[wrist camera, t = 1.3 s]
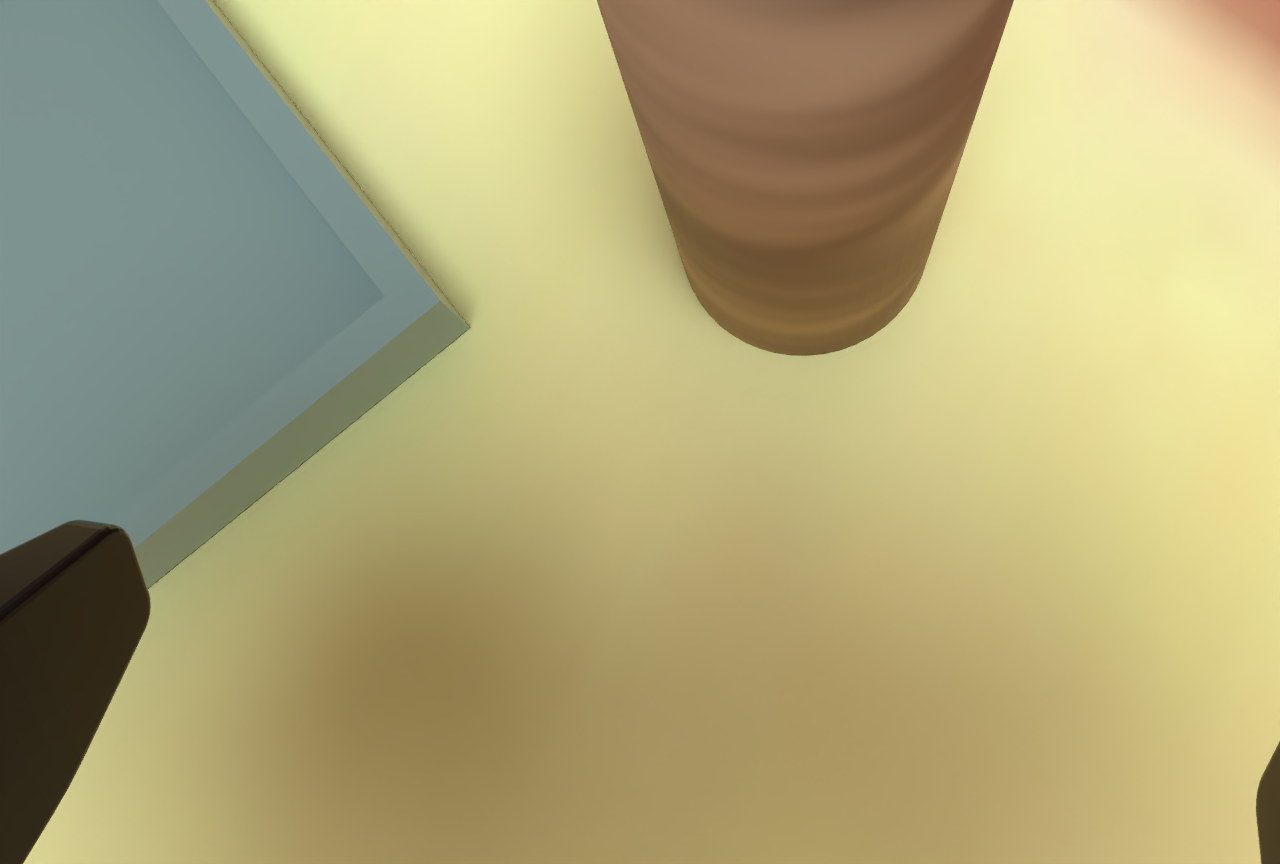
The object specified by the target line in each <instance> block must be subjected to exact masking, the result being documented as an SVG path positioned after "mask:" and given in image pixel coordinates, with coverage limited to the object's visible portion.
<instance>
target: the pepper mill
mask: <svg viewBox="0 0 1280 864" xmlns="http://www.w3.org/2000/svg"><path fill="white" fill-rule="evenodd" d="M1013 1H1014V0H597V2H598V5H599V8H600V11H601V14H602V17H603V21H604V24H605V27H606V30H607V33H608V36H609V39H610V42H611V45H612V48H613V51H614V54H615V57H616V60H617V63H618V66H619V69H620V72H621V76H622V79H623V82H624V85H625V88H626V91H627V94H628V97H629V100H630V103H631V106H632V109H633V112H634V115H635V118H636V121H637V124H638V127H639V130H640V134H641V137H642V140H643V143H644V146H645V149H646V152H647V155H648V158H649V161H650V164H651V167H652V170H653V173H654V176H655V179H656V182H657V185H658V189H659V192H660V195H661V198H662V201H663V204H664V207H665V210H666V213H667V216H668V219H669V222H670V225H671V228H672V231H673V234H674V237H675V240H676V243H677V247H678V250H679V253H680V256H681V259H682V262H683V265H684V268H685V271H686V274H687V277H688V279H689V282H690V284H691V287H692V289H693V291H694V293H695V294H696V296H697V298H698V300H699V302H700V303H701V304H702V306H703V307H704V308H705V310H706V311H707V312H708V314H709V315H710V316H711V317H712V318H713V319H714V320H715V321H716V322H717V323H718V324H719V325H720V326H722V327H723V328H724V329H726V330H727V331H728V332H729V333H731V334H732V335H734V336H735V337H737V338H739V339H741V340H742V341H744V342H746V343H748V344H751V345H753V346H755V347H758V348H760V349H764V350H767V351H771V352H774V353H780V354H787V355H817V354H826V353H830V352H834V351H838V350H842V349H845V348H847V347H850V346H852V345H855V344H857V343H859V342H861V341H863V340H865V339H867V338H869V337H871V336H872V335H874V334H875V333H876V332H878V331H879V330H881V329H882V328H883V327H885V326H886V325H887V324H888V323H889V322H890V321H891V320H892V319H893V318H895V317H896V316H897V315H898V313H899V312H900V311H901V310H902V309H903V307H904V306H905V305H906V304H907V302H908V301H909V299H910V298H911V296H912V294H913V293H914V291H915V290H916V288H917V285H918V283H919V281H920V279H921V277H922V274H923V271H924V268H925V265H926V262H927V259H928V256H929V253H930V250H931V247H932V244H933V241H934V238H935V235H936V232H937V229H938V226H939V223H940V220H941V217H942V214H943V211H944V208H945V205H946V202H947V199H948V196H949V193H950V190H951V187H952V184H953V181H954V178H955V175H956V172H957V169H958V166H959V163H960V160H961V157H962V154H963V151H964V148H965V145H966V142H967V139H968V136H969V133H970V130H971V127H972V124H973V121H974V118H975V115H976V112H977V109H978V106H979V103H980V100H981V97H982V94H983V91H984V88H985V85H986V82H987V79H988V76H989V73H990V70H991V67H992V64H993V61H994V58H995V55H996V52H997V49H998V46H999V43H1000V40H1001V37H1002V34H1003V31H1004V28H1005V25H1006V22H1007V19H1008V16H1009V13H1010V10H1011V7H1012V4H1013Z"/></svg>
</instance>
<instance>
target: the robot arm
mask: <svg viewBox="0 0 1280 864" xmlns="http://www.w3.org/2000/svg"><path fill="white" fill-rule="evenodd" d="M149 615H150V596H149V592H148V589H147V586H146V583H145V580H144V577H143V574H142V571H141V568H140V565H139V562H138V559H137V556H136V553H135V550H134V547H133V544H132V541H131V539H130V537H129V535H128V534H127V533H126V532H125V530H124V529H123V528H122V527H119V526H117V525H113V524H106V523H100V522H93V521H86V520H73V521H69V522H66V523H64V524H62V525H60V526H58V527H55V528H53V529H51V530H49V531H47V532H45V533H43V534H41V535H39V536H37V537H35V538H33V539H31V540H29V541H27V542H25V543H23V544H21V545H18V546H16V547H14V548H12V549H10V550H8V551H6V552H4V553H2V554H0V864H23V863H24V861H25V860H26V858H27V856H28V855H29V853H30V851H31V850H32V848H33V846H34V845H35V843H36V841H37V840H38V838H39V837H40V835H41V833H42V832H43V830H44V828H45V827H46V825H47V823H48V822H49V820H50V818H51V817H52V815H53V814H54V812H55V810H56V808H57V807H58V805H59V803H60V801H61V800H62V798H63V796H64V794H65V793H66V791H67V789H68V787H69V785H70V784H71V782H72V780H73V778H74V776H75V774H76V772H77V770H78V768H79V766H80V764H81V762H82V760H83V758H84V756H85V754H86V752H87V750H88V748H89V746H90V744H91V742H92V739H93V737H94V735H95V733H96V731H97V729H98V727H99V725H100V723H101V721H102V719H103V716H104V714H105V712H106V710H107V708H108V706H109V704H110V702H111V700H112V698H113V696H114V693H115V691H116V689H117V687H118V685H119V683H120V681H121V679H122V677H123V675H124V672H125V670H126V668H127V666H128V664H129V662H130V660H131V658H132V656H133V654H134V652H135V649H136V647H137V645H138V643H139V641H140V639H141V637H142V635H143V633H144V631H145V628H146V626H147V623H148V619H149ZM1256 816H1257V826H1258V835H1259V845H1260V855H1261V864H1280V742H1279V744H1278V746H1277V748H1276V750H1275V752H1274V754H1273V756H1272V758H1271V760H1270V762H1269V764H1268V765H1267V767H1266V769H1265V771H1264V773H1263V775H1262V778H1261V780H1260V783H1259V787H1258V791H1257V798H1256Z"/></svg>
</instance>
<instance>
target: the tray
mask: <svg viewBox="0 0 1280 864" xmlns="http://www.w3.org/2000/svg"><path fill="white" fill-rule="evenodd" d="M469 328H470V327H469V326H468V325H467V323H466V322H465V321H464V320H463V318H462V317H461V316H460V314H459V313H458V312H457V311H456V309H455V308H454V307H453V306H452V304H451V303H450V302H449V300H448V299H447V298H446V297H445V295H444V294H443V293H442V292H441V290H440V289H439V288H438V286H437V285H436V284H435V283H434V281H433V280H432V279H431V278H430V276H429V275H428V274H427V272H426V271H425V270H424V269H423V267H422V266H421V265H420V264H419V262H418V261H417V260H416V258H415V257H414V256H413V255H412V253H411V252H410V251H409V250H408V248H407V247H406V246H405V244H404V243H403V242H402V241H401V239H400V238H399V237H398V236H397V234H396V233H395V232H394V230H393V229H392V228H391V227H390V225H389V224H388V223H387V222H386V220H385V219H384V218H383V216H382V215H381V214H380V213H379V211H378V210H377V209H376V208H375V206H374V205H373V204H372V202H371V201H370V200H369V199H368V197H367V196H366V195H365V194H364V192H363V191H362V190H361V188H360V187H359V186H358V185H357V183H356V182H355V181H354V180H353V178H352V177H351V176H350V174H349V173H348V172H347V171H346V169H345V168H344V167H343V166H342V164H341V163H340V162H339V160H338V159H337V158H336V157H335V155H334V154H333V153H332V152H331V150H330V149H329V148H328V146H327V145H326V144H325V143H324V141H323V140H322V139H321V138H320V136H319V135H318V134H317V132H316V131H315V130H314V129H313V127H312V126H311V125H310V124H309V122H308V121H307V120H306V118H305V117H304V116H303V115H302V113H301V112H300V111H299V110H298V108H297V107H296V106H295V104H294V103H293V102H292V101H291V99H290V98H289V97H288V96H287V94H286V93H285V92H284V90H283V89H282V88H281V87H280V85H279V84H278V83H277V82H276V80H275V79H274V78H273V76H272V75H271V74H270V73H269V71H268V70H267V69H266V68H265V66H264V65H263V64H262V62H261V61H260V60H259V59H258V57H257V56H256V55H255V54H254V52H253V51H252V50H251V48H250V47H249V46H248V45H247V43H246V42H245V41H244V40H243V38H242V37H241V36H240V34H239V33H238V32H237V31H236V29H235V28H234V27H233V26H232V24H231V23H230V22H229V20H228V19H227V18H226V17H225V15H224V14H223V13H222V12H221V10H220V9H219V8H218V6H217V5H216V4H215V3H214V1H213V0H0V554H2V553H4V552H6V551H8V550H10V549H12V548H14V547H16V546H18V545H21V544H23V543H25V542H27V541H29V540H31V539H33V538H35V537H37V536H39V535H41V534H43V533H45V532H47V531H49V530H51V529H53V528H55V527H58V526H60V525H62V524H64V523H66V522H69V521H73V520H86V521H93V522H100V523H106V524H113V525H117V526H119V527H122V528H123V529H124V530H125V532H126V533H127V534H128V535H129V537H130V539H131V541H132V544H133V547H134V550H135V553H136V556H137V559H138V562H139V565H140V568H141V571H142V574H143V577H144V580H145V583H146V586H147V589H148V588H149V587H150V586H152V585H153V584H154V583H155V582H157V581H158V580H159V579H160V578H161V577H163V576H164V575H165V574H166V573H168V572H169V571H170V570H171V569H173V568H174V567H175V566H176V565H178V564H179V563H180V562H181V561H182V560H184V559H185V558H186V557H187V556H189V555H190V554H191V553H192V552H194V551H195V550H196V549H197V548H199V547H200V546H201V545H202V544H203V543H205V542H206V541H207V540H208V539H210V538H211V537H212V536H213V535H215V534H216V533H217V532H218V531H220V530H221V529H222V528H223V527H224V526H226V525H227V524H228V523H229V522H231V521H232V520H233V519H234V518H236V517H237V516H238V515H239V514H241V513H242V512H243V511H244V510H245V509H247V508H248V507H249V506H250V505H252V504H253V503H254V502H255V501H257V500H258V499H259V498H260V497H262V496H263V495H264V494H265V493H266V492H268V491H269V490H270V489H271V488H273V487H274V486H275V485H276V484H278V483H279V482H280V481H281V480H283V479H284V478H285V477H286V476H287V475H289V474H290V473H291V472H292V471H294V470H295V469H296V468H297V467H299V466H300V465H301V464H302V463H304V462H305V461H306V460H307V459H308V458H310V457H311V456H312V455H313V454H315V453H316V452H317V451H318V450H320V449H321V448H322V447H323V446H325V445H326V444H327V443H328V442H329V441H331V440H332V439H333V438H334V437H336V436H337V435H338V434H339V433H341V432H342V431H343V430H344V429H346V428H347V427H348V426H349V425H350V424H352V423H353V422H354V421H355V420H357V419H358V418H359V417H360V416H362V415H363V414H364V413H365V412H367V411H368V410H369V409H370V408H371V407H373V406H374V405H375V404H376V403H378V402H379V401H380V400H381V399H383V398H384V397H385V396H386V395H388V394H389V393H390V392H391V391H392V390H394V389H395V388H396V387H397V386H399V385H400V384H401V383H402V382H404V381H405V380H406V379H407V378H409V377H410V376H411V375H412V374H413V373H415V372H416V371H417V370H418V369H420V368H421V367H422V366H423V365H425V364H426V363H427V362H428V361H430V360H431V359H432V358H433V357H434V356H436V355H437V354H438V353H439V352H441V351H442V350H443V349H444V348H446V347H447V346H448V345H449V344H451V343H452V342H453V341H454V340H455V339H457V338H458V337H459V336H460V335H462V334H463V333H464V332H465V331H467V330H468V329H469Z"/></svg>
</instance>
